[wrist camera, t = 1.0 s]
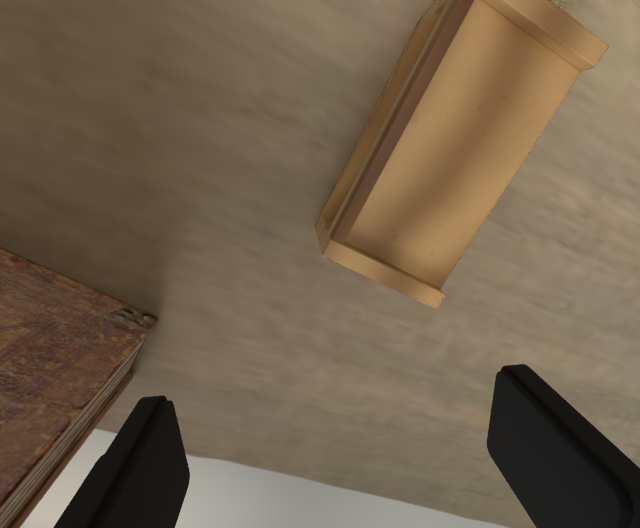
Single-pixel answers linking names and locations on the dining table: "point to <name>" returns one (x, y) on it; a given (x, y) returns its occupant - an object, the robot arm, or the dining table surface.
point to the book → (55, 374)
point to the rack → (450, 137)
